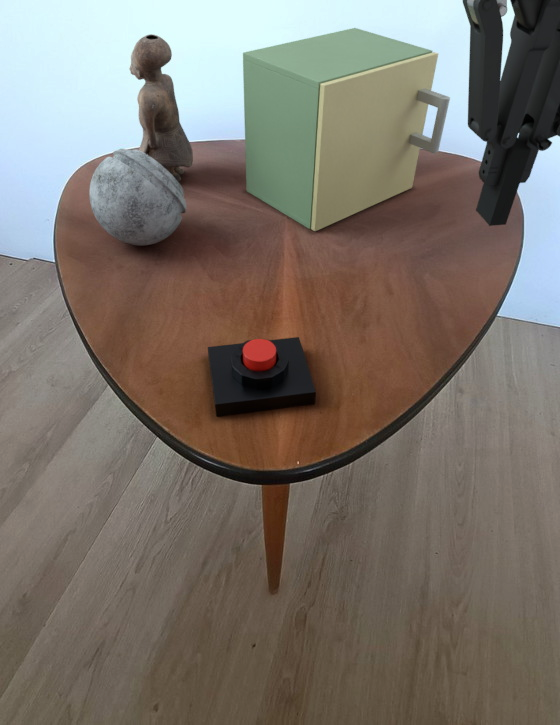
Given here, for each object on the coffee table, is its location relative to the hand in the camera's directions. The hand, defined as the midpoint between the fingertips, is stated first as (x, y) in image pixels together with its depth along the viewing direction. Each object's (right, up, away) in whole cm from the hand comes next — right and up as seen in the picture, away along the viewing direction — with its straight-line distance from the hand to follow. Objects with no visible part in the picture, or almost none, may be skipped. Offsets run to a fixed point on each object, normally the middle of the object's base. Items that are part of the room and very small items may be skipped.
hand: (490, 216), depth 48 cm
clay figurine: (-40, +24, +62) cm, 77 cm away
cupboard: (-9, +21, +60) cm, 64 cm away
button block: (-21, -15, +22) cm, 34 cm away
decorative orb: (-41, +8, +46) cm, 62 cm away
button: (-21, -12, +20) cm, 31 cm away
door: (-1, +14, +53) cm, 55 cm away
